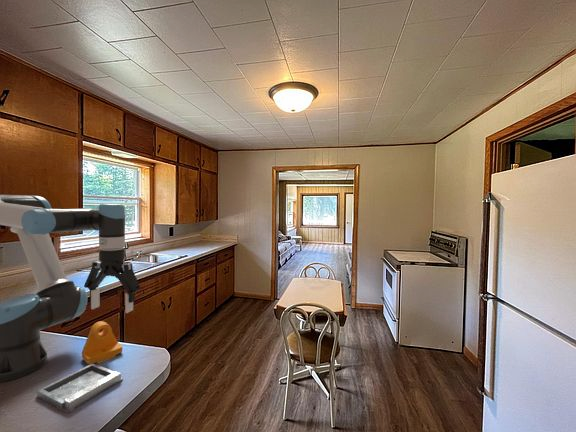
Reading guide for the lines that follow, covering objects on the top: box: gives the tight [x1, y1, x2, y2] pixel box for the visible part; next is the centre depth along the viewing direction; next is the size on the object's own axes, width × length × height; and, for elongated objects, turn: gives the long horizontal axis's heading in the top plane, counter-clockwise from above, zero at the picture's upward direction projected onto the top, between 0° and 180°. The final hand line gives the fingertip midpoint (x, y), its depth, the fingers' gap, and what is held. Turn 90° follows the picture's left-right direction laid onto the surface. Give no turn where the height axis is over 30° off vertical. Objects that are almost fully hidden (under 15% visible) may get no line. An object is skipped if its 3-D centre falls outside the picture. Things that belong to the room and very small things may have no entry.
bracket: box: [81, 320, 123, 365], centre depth 98 cm, size 11×7×12 cm, turn 141°
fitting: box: [36, 363, 124, 414], centre depth 81 cm, size 15×15×2 cm
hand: (112, 309), depth 94 cm, fingers open, 13 cm apart
